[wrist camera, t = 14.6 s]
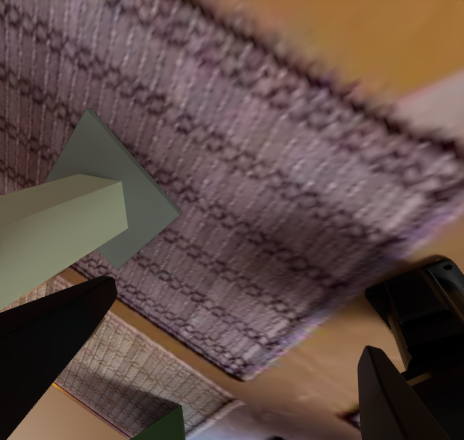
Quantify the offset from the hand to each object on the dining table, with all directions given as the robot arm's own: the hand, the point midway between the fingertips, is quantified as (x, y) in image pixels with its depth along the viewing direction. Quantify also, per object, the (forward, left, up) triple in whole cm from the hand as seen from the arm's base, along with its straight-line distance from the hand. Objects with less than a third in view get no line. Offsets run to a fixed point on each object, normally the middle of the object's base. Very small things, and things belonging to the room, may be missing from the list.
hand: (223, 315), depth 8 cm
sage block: (+10, +14, -12) cm, 21 cm away
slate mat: (+10, +14, -13) cm, 22 cm away
